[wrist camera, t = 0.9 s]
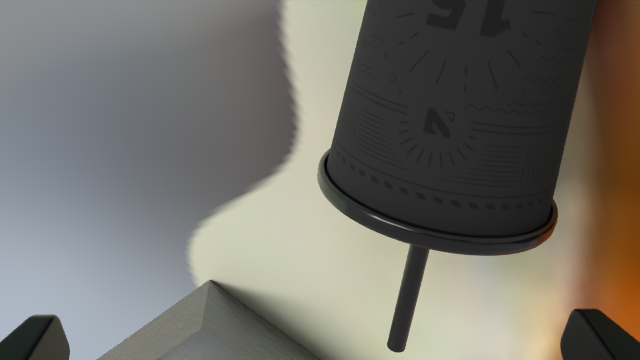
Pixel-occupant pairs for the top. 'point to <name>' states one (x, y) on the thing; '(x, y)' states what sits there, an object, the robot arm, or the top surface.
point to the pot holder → (208, 333)
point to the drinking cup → (456, 127)
